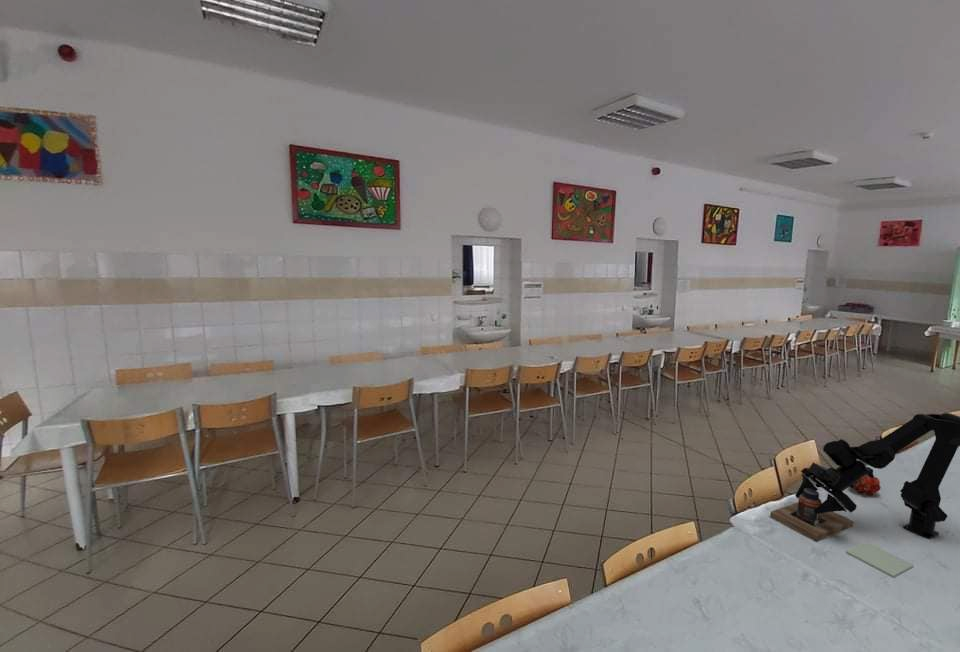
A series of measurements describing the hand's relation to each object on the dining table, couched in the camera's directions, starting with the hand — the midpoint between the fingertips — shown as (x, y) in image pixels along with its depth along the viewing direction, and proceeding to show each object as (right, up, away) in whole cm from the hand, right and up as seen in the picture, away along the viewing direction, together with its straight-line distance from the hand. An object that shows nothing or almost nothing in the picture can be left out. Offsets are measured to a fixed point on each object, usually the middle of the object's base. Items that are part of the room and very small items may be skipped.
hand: (805, 504), depth 140 cm
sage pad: (+9, -9, -16) cm, 21 cm away
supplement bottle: (+1, -7, +1) cm, 7 cm away
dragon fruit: (+38, -5, +21) cm, 44 cm away
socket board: (+3, -6, +2) cm, 7 cm away
